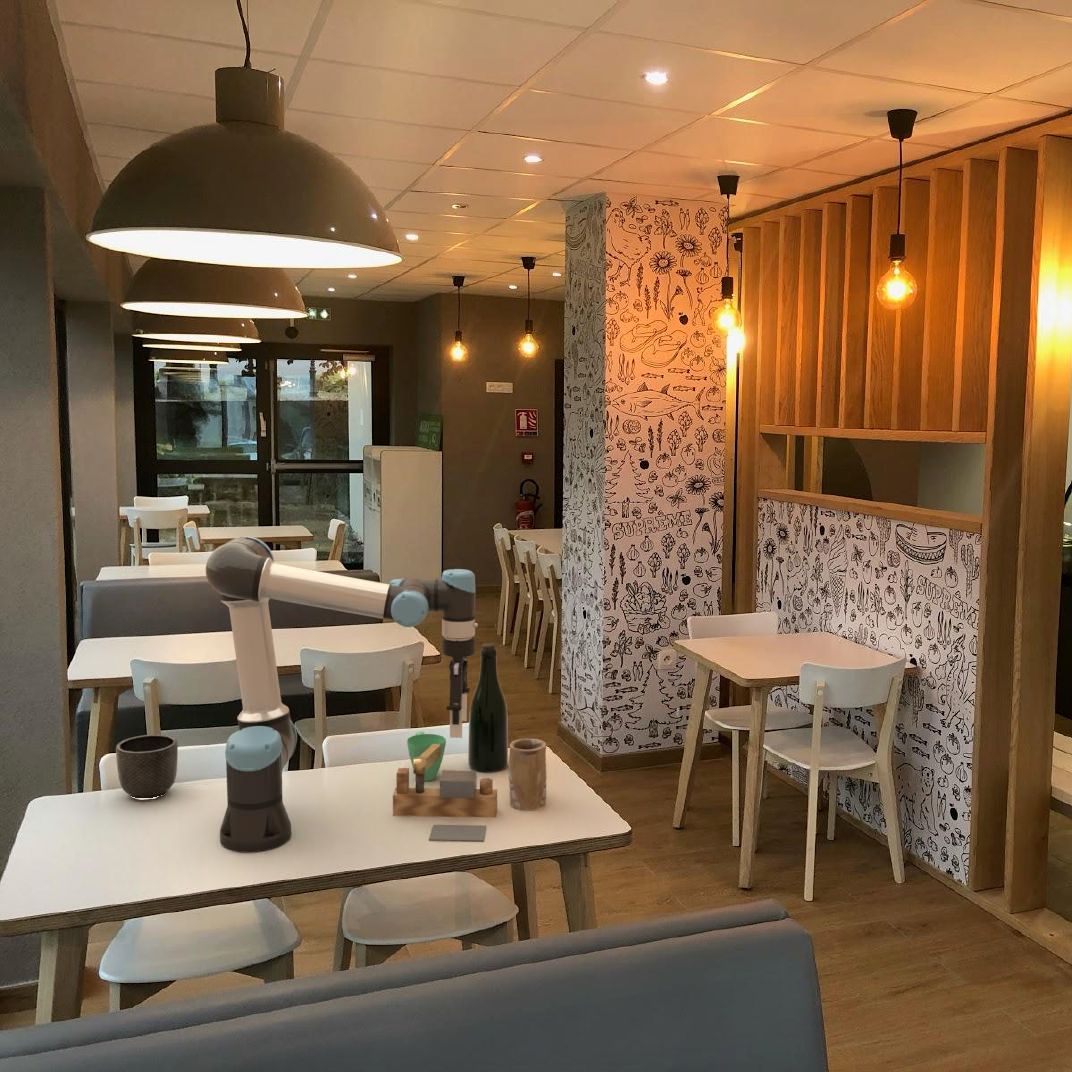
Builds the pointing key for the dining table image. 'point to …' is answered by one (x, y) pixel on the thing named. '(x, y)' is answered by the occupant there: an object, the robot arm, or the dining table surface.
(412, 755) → the mug
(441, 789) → the grey stone cube
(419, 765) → the lever
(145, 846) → the dining table surface
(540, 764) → the mug
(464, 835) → the mat
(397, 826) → the dining table surface
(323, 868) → the dining table surface
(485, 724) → the green wine bottle
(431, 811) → the body
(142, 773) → the planter
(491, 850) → the dining table surface
